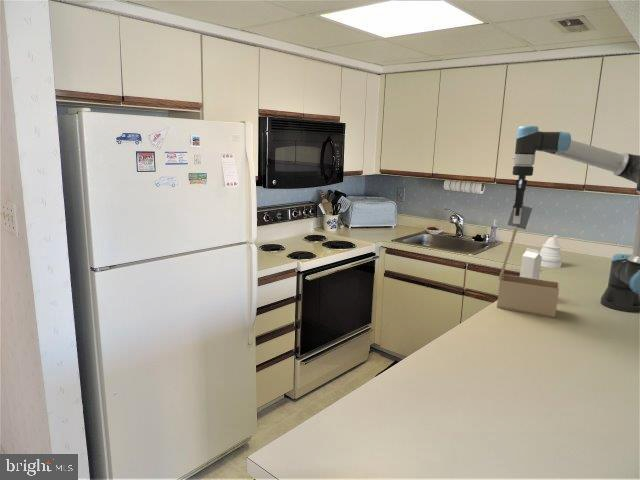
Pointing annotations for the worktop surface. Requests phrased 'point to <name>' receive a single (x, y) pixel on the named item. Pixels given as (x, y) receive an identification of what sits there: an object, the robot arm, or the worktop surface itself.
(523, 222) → the flap
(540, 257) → the milk
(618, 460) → the worktop surface
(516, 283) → the carton
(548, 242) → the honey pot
